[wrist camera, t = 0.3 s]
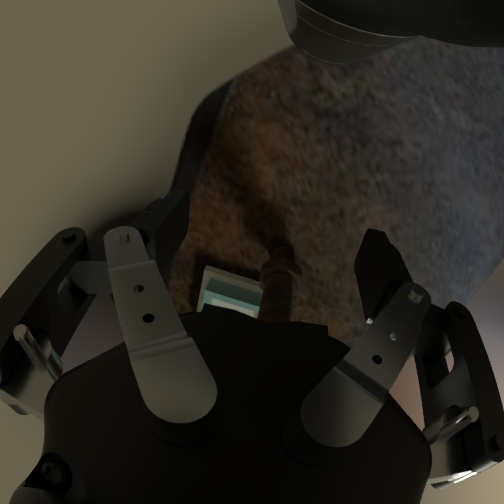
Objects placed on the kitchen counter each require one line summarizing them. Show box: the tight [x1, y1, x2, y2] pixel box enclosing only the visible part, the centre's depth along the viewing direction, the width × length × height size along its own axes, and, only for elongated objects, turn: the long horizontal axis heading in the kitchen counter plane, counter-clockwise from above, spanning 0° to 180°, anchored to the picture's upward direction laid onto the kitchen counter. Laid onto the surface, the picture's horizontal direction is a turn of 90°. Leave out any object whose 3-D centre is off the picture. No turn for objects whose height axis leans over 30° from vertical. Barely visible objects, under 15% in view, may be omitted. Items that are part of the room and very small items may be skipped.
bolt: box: [257, 246, 302, 322], centre depth 29 cm, size 6×5×15 cm
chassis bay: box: [197, 265, 263, 318], centre depth 41 cm, size 16×12×4 cm
